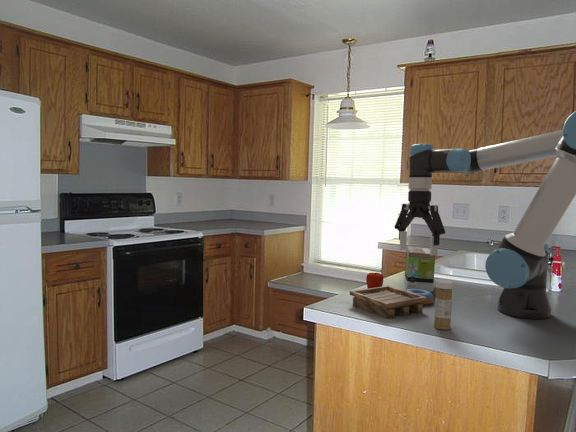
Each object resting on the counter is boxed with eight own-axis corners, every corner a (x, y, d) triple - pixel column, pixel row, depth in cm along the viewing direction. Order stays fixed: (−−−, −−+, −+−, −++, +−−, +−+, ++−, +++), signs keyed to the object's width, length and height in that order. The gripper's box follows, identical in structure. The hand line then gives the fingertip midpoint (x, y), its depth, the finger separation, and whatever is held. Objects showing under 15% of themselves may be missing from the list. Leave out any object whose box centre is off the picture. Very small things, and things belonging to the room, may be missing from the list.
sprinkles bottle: (446, 325, 126) (448, 278, 125) (453, 330, 121) (455, 282, 120) (431, 325, 126) (433, 278, 125) (437, 330, 121) (439, 282, 120)
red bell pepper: (374, 295, 158) (374, 275, 157) (362, 291, 163) (362, 271, 162) (386, 293, 161) (387, 273, 160) (374, 289, 166) (375, 270, 166)
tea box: (434, 292, 164) (435, 253, 163) (406, 290, 166) (407, 252, 165) (429, 283, 179) (431, 247, 178) (404, 282, 181) (405, 246, 180)
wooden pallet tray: (425, 311, 139) (426, 297, 138) (385, 319, 130) (386, 303, 130) (387, 299, 153) (388, 285, 153) (349, 305, 144) (349, 291, 144)
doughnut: (410, 295, 158) (411, 283, 157) (437, 302, 151) (438, 289, 151) (397, 303, 151) (398, 290, 150) (425, 311, 144) (426, 297, 143)
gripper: (458, 190, 141) (455, 256, 142) (400, 189, 162) (398, 246, 163) (442, 190, 137) (440, 258, 138) (385, 189, 158) (384, 248, 159)
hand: (417, 252), depth 151 cm, fingers open, 13 cm apart
